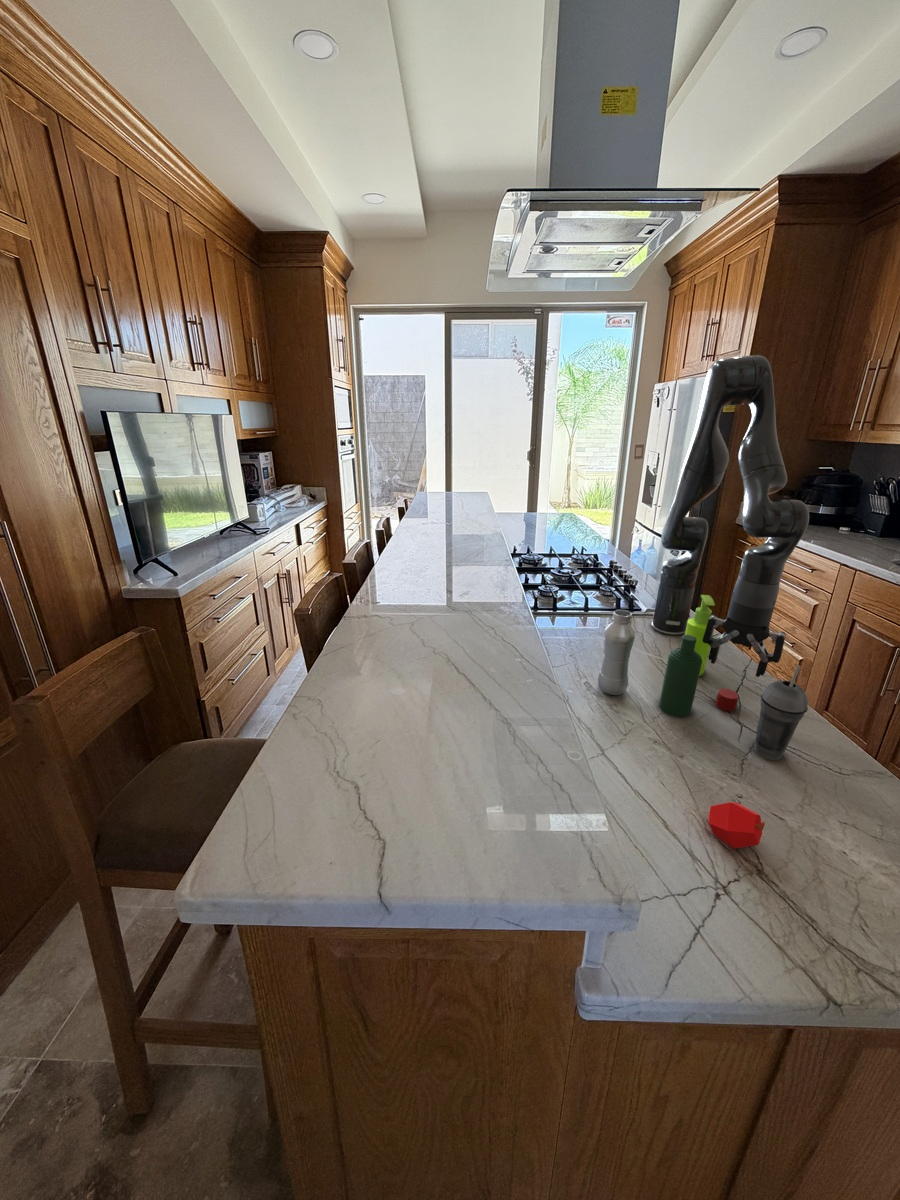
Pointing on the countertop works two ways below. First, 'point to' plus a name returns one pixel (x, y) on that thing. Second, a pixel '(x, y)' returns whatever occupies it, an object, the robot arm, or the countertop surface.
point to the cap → (726, 700)
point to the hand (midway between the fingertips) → (734, 668)
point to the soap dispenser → (700, 628)
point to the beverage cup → (779, 716)
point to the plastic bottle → (616, 654)
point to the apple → (736, 824)
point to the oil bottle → (681, 678)
